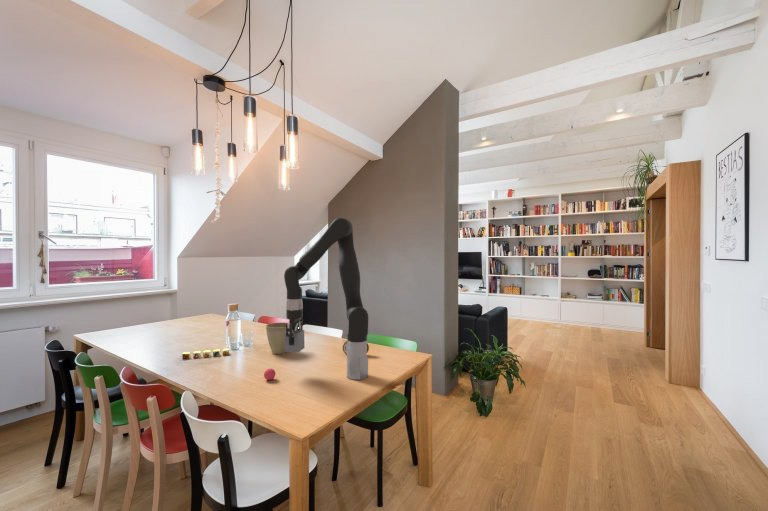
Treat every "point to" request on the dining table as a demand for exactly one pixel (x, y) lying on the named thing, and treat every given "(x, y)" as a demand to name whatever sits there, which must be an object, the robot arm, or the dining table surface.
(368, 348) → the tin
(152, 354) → the dining table surface
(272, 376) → the ball
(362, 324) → the robot arm
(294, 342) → the matte grey cube
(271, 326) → the plant pot
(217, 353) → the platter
